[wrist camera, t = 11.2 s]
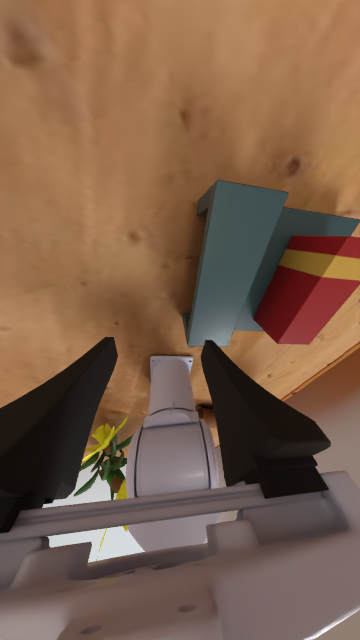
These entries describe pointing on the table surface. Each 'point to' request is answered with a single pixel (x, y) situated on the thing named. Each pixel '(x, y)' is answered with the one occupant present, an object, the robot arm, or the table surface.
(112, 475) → the daffodil flowers
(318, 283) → the candy bar
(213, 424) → the sunglasses case
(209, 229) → the shelf rack
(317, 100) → the table surface
